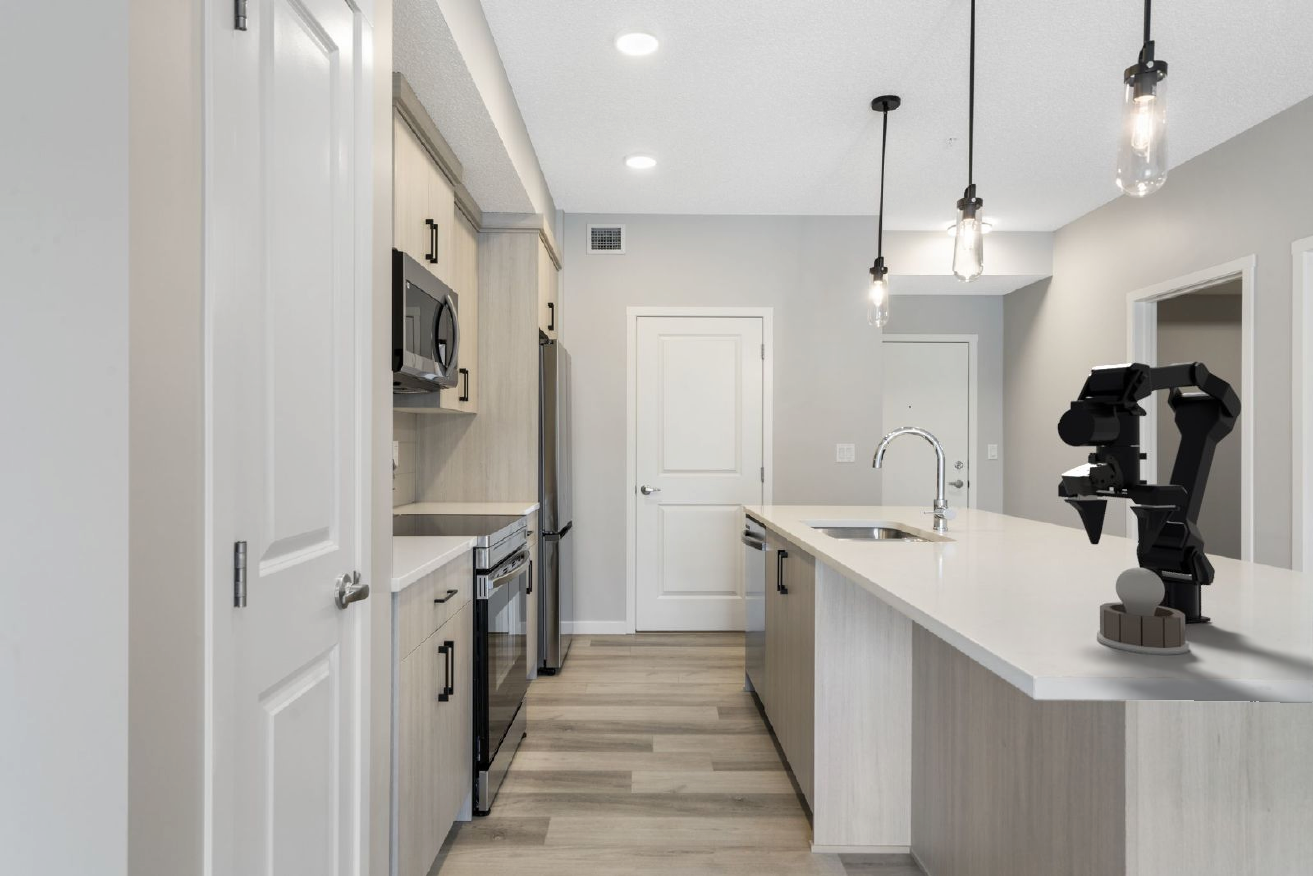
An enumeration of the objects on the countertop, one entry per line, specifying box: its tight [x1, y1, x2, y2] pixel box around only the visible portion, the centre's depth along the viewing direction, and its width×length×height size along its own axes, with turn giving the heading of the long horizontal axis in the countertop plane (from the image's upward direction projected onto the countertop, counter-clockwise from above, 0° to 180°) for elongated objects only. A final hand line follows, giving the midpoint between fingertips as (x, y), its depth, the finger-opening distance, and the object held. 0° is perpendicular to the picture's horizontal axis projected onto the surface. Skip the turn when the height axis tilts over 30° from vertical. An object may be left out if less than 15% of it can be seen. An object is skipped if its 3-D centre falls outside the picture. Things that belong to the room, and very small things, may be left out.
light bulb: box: [1115, 567, 1165, 616], centre depth 106 cm, size 6×6×10 cm
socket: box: [1096, 601, 1190, 656], centre depth 106 cm, size 11×11×5 cm
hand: (1118, 548), depth 114 cm, fingers open, 9 cm apart
